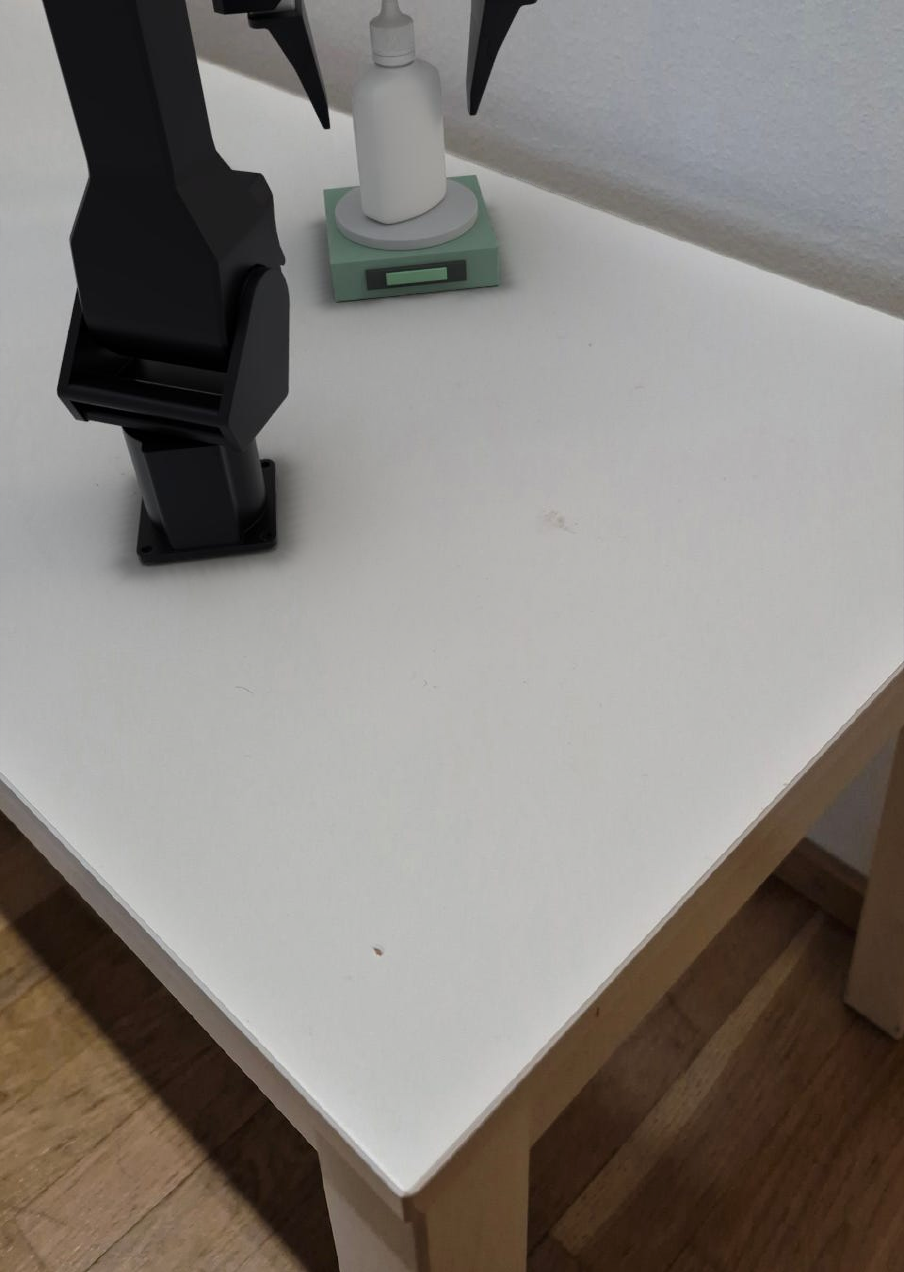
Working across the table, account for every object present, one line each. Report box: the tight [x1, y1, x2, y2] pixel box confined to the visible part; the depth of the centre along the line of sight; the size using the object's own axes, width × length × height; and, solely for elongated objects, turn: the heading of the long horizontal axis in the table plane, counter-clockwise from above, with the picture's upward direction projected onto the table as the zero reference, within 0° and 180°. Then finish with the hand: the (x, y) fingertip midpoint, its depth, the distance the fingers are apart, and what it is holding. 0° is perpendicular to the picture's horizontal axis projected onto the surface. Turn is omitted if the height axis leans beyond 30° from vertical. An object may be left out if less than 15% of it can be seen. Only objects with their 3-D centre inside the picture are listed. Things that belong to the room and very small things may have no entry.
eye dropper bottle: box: [351, 0, 447, 224], centre depth 67 cm, size 4×6×12 cm
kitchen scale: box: [323, 174, 500, 303], centre depth 72 cm, size 10×10×3 cm
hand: (399, 119), depth 68 cm, fingers open, 8 cm apart
